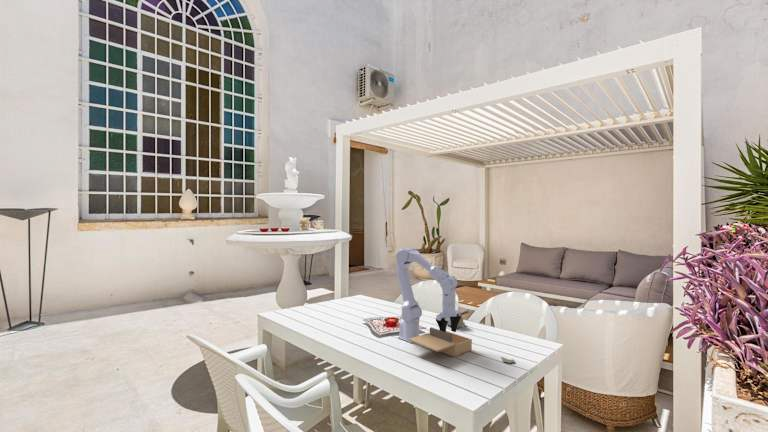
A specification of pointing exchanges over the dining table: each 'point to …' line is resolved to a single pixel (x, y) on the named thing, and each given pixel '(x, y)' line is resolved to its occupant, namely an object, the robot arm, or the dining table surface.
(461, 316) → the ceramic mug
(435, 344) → the carton lid
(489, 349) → the dining table surface
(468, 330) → the dining table surface
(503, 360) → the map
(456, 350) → the carton
